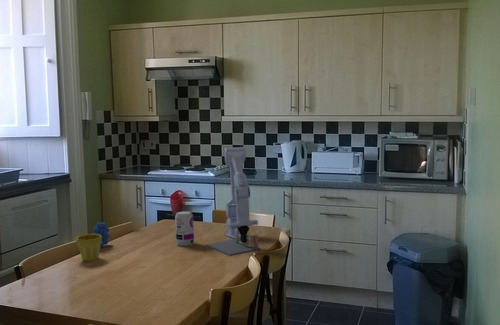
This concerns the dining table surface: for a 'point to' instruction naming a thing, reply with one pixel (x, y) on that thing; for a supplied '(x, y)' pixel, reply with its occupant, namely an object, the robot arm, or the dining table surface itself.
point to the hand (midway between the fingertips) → (243, 242)
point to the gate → (247, 240)
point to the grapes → (102, 232)
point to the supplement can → (184, 228)
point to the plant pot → (89, 246)
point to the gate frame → (234, 246)
